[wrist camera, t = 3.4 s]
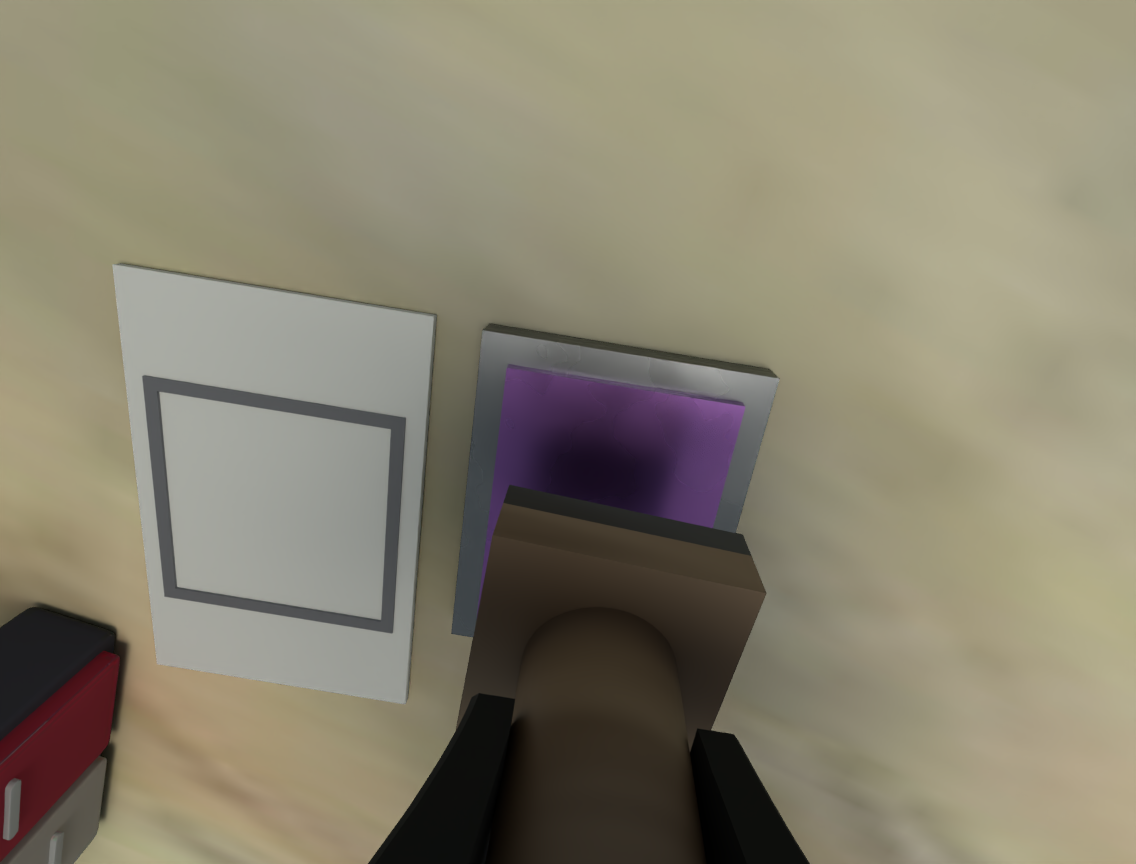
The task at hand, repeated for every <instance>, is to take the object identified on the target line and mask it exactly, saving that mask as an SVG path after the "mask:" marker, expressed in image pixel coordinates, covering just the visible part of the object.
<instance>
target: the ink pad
mask: <svg viewBox="0 0 1136 864" xmlns="http://www.w3.org/2000/svg"><path fill="white" fill-rule="evenodd" d="M779 379H780V378H779V377H777V376H776V375H775V374H774V373H773V372H772V371H771V370H770V369H765V368H759V367H753V366H747V365H741V364H735V363H729V362H722V361H716V360H710V359H704V358H698V357H692V356H686V355H679V354H673V353H667V352H661V351H655V350H649V349H643V348H637V347H630V346H624V345H618V344H612V343H606V342H600V341H594V340H587V339H581V338H575V337H569V336H563V335H557V334H551V333H544V332H538V331H532V330H526V329H520V328H514V327H508V326H502V325H495V324H488V325H487V326H486V327H485V328H484V329H483V332H482V341H481V351H480V361H479V371H478V380H477V390H476V400H475V409H474V419H473V429H472V439H471V448H470V458H469V468H468V478H467V487H466V497H465V507H464V516H463V526H462V536H461V546H460V555H459V565H458V575H457V584H456V594H455V604H454V614H453V623H452V633H451V634H456V635H462V636H468V637H473V636H474V631H475V625H476V620H477V615H478V609H479V604H480V599H481V593H482V588H483V583H484V578H485V572H486V567H487V562H488V556H489V551H490V546H491V540H492V535H493V532H494V529H495V526H496V523H497V520H498V517H499V514H500V511H501V508H502V505H503V502H504V499H505V496H506V493H507V490H508V487H509V485H514V486H518V487H523V488H528V489H532V490H537V491H542V492H546V493H551V494H555V495H560V496H565V497H569V498H574V499H579V500H583V501H588V502H593V503H597V504H602V505H607V506H611V507H616V508H621V509H625V510H630V511H635V512H639V513H644V514H649V515H653V516H658V517H663V518H667V519H672V520H677V521H681V522H686V523H691V524H695V525H700V526H705V527H709V528H714V529H719V530H723V531H728V532H733V533H736V529H737V526H738V522H739V519H740V515H741V512H742V508H743V505H744V501H745V498H746V494H747V491H748V487H749V484H750V480H751V477H752V473H753V470H754V466H755V463H756V459H757V456H758V452H759V449H760V445H761V442H762V438H763V435H764V431H765V428H766V425H767V421H768V418H769V414H770V411H771V407H772V404H773V400H774V397H775V393H776V390H777V386H778V383H779Z"/></svg>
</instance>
